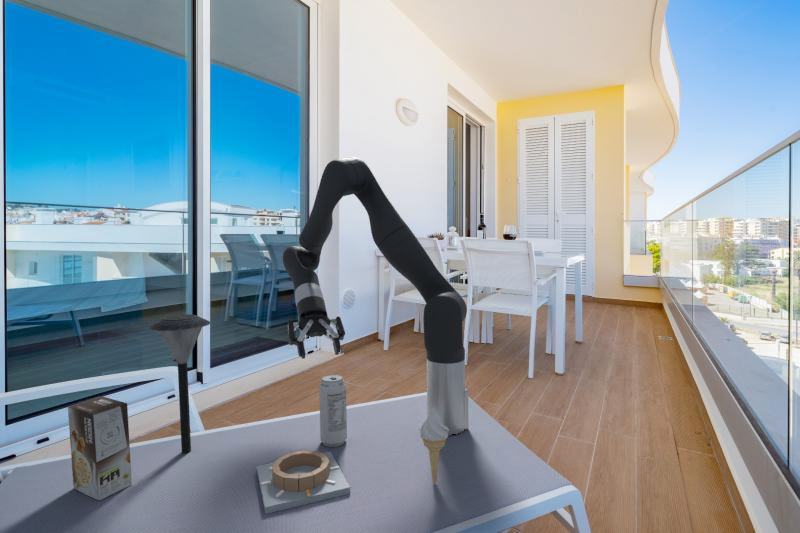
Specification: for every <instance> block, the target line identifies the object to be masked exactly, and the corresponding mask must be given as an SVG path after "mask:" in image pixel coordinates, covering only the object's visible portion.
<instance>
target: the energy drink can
mask: <svg viewBox="0 0 800 533" xmlns="http://www.w3.org/2000/svg"><path fill="white" fill-rule="evenodd" d="M318 387H319V388H318V392H319V393H318V395H319V433H320V434H319V436H320V441H321V442H322V443H323V446H325V447H329V448H330V447H331V448H332V447H333V448H334V447H340V446H342V445H344V444H345V442H346V440H347V439H348V425H347V424H348V420H347V417H348V416H347V415H348V414H347V383H346V382H345V380H344V376H343V375H341V374H328V375H324V376H322V377H321V382H320V384H319V386H318Z"/></svg>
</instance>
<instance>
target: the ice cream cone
mask: <svg viewBox="0 0 800 533" xmlns="http://www.w3.org/2000/svg"><path fill="white" fill-rule="evenodd" d="M444 424H445V423H444V422H443V420H442V419H441V418H440V417H439V415H438V413H437V411H436V409H435V408H433V410H432V412H431V413H430V415H429V416H428V418H427V417H426V419H425V421H424V422H423V423H422V425H421V426H420V428H419V434H420V437H421V439H422V442H423V446H424V447H425V448H427V450H428V453H429V462H430V470H431V476H432V477H431V478H432V484H433V485H436V484H437V483H438V472H439V463H440V451H441V449H443V447H445V446H446V441H447V438H449V435H448V433H447V432H449V429H448V427H446V426H445V425H444Z"/></svg>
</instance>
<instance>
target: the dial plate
mask: <svg viewBox="0 0 800 533" xmlns="http://www.w3.org/2000/svg"><path fill="white" fill-rule="evenodd" d="M334 457H335V456H334V455H333V454H332V452H331V451H324V452H320V451H317V450H307V449H306V450H305V449H304V450H303V449H302V450H298V451H297V450H296V451H293V452H292V451H291V452H289V453H286V454H284V455H282V456H280V457H279V458H277V459H276V460H274V462H271V463H265V464H260V465H256V475H257V479H258V484H259V489H260V493H261V499H262V503H263V510H264V514H265V515H267V514H271V513H275V512H280V511H283V510H287V509H288V510H289V509H292V508H297V507H301V506H304V505H308V504H313V503H316V502H320V501H321V502H322V501H325V500H330V499H334V498H336V497H337V498H338V497H340V496H341V497H342V496H345V495H350V494H351V486H350V484H349V483H348V480H347V479H346V477H345V475H344V474H343V472H342V470H341V468H340V466H339V465H338V462H337V461H336V459H335V458H334Z"/></svg>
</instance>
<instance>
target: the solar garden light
mask: <svg viewBox="0 0 800 533" xmlns="http://www.w3.org/2000/svg"><path fill="white" fill-rule="evenodd" d="M210 324H212V322H211V321H210V320H208V319H205V318H203V317H201V316H199V315H196V314H186V313H185V314H177V315H176V314H175V315H168V316H165V317H163V318H162V319H159V320H158V321H157V322H154V324H152V325H150V326H149V327H148V329H149V331H154V332H159V333H160V336H161V337H162V339H163V340H164V342H165V344H166V345H167V347H168V349H169V351H170V352H171V354H172V356H173V358H174V360H175V361H176V363H177V374H178V375H177V378H178V381H177V382H178V398H179V422H180V423H179V424H180V443H181V444H180V445H181V446H180V447H181V453H182V454H188V453H190V452H191V451H192V444H191V442H192V439H191V423H190V421H191V420H190V419H191V418H190V400H189V398H190V397H189V393H190V392H189V376H188V375H189V373H188V361H189V359H190V356H191V354H192V352H193V349H194V347H195V344H196V343H197V340H198V338H199V336H200V333H201V331H202V328H203V327H207V326H209V325H210Z"/></svg>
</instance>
